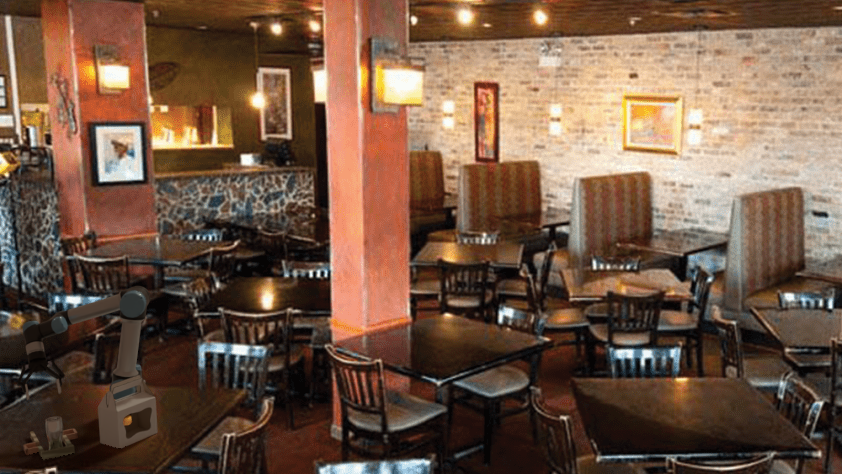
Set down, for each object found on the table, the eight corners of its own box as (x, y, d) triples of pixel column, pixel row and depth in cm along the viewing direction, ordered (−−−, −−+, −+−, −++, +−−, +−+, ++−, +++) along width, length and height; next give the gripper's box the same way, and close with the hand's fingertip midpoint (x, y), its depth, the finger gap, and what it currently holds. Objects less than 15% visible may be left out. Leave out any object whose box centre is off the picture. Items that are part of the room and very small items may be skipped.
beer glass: (58, 455, 366) (55, 422, 363) (44, 453, 367) (41, 421, 365) (68, 448, 373) (65, 416, 370) (54, 447, 374) (51, 415, 372)
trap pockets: (20, 444, 377) (20, 439, 377) (74, 433, 390) (74, 428, 390) (26, 455, 366) (25, 449, 365) (81, 443, 378) (81, 437, 378)
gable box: (119, 449, 371) (115, 389, 367) (99, 443, 378) (95, 384, 374) (158, 432, 390) (154, 375, 386) (138, 427, 397) (135, 370, 393)
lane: (30, 437, 386) (29, 429, 385) (60, 430, 393) (59, 423, 392) (42, 460, 360) (42, 452, 360) (74, 453, 368) (74, 445, 367)
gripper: (63, 352, 400) (71, 393, 393) (5, 360, 386) (13, 404, 378) (65, 345, 395) (74, 387, 387) (7, 354, 381) (15, 398, 373)
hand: (44, 395), depth 383 cm, fingers open, 13 cm apart
